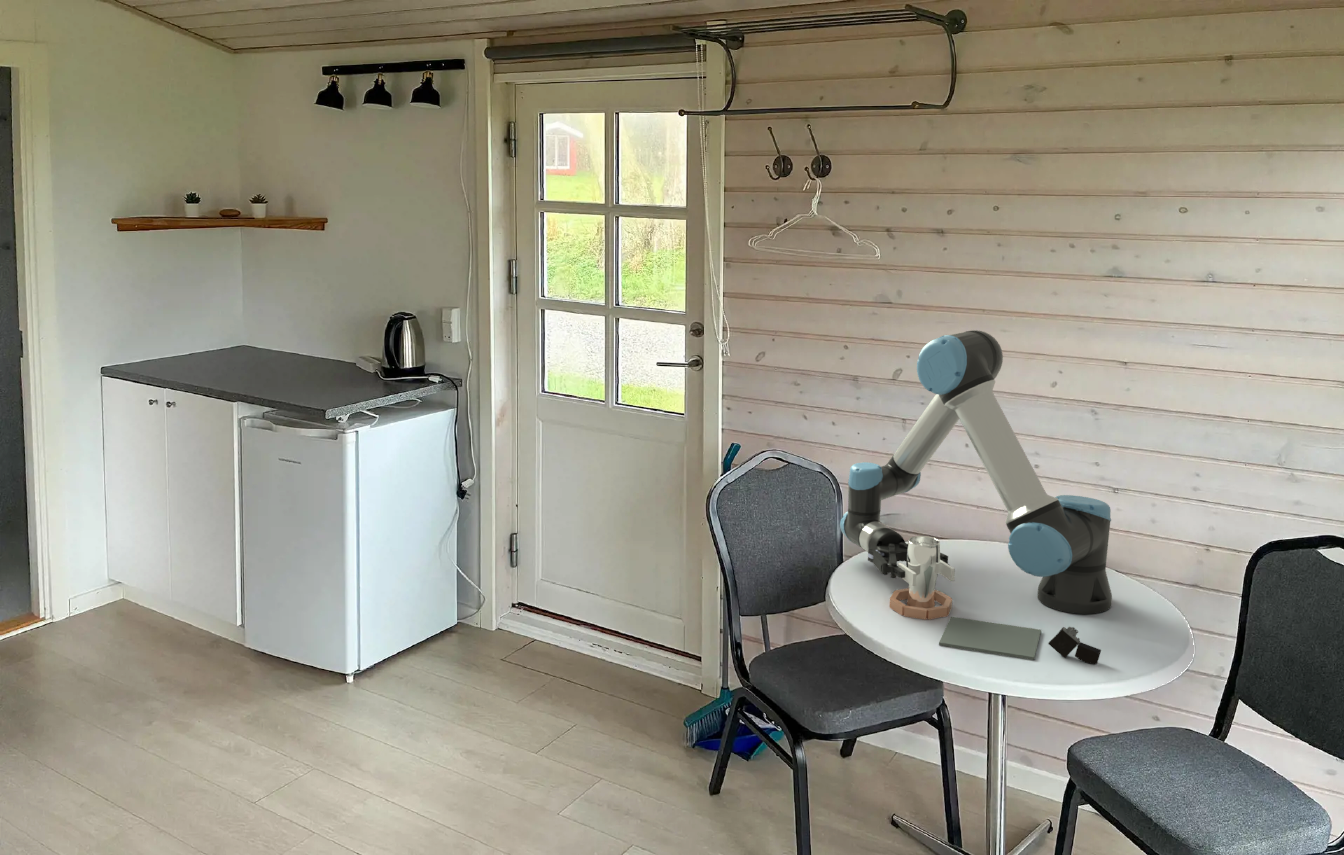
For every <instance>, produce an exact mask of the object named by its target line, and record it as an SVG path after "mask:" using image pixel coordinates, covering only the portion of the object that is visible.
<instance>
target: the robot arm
mask: <svg viewBox="0 0 1344 855" xmlns="http://www.w3.org/2000/svg"><path fill="white" fill-rule="evenodd" d="M916 361H917V362H916V372H917V377H918V380H919V382H920V384H921V385H922V387H923V388H925V390H927V391H928V392H930V393H933V394H935V395H934V396H933V398H932V399H931V401H930V402H929V404H928V405H927V406H926V408H925V409H924V411H923V412H922V413H921V415H920V416H919V418H918V419H917V421H916V422H915V423H914V425H913V426H912V427H911V429H910V430H909V431H908V434H906V436H905V438H904V439H903V440H902V442H901V443H900V445H899V446H898V447H897V449H896V451H895V452H894V454H893V455H892V456H891V457H890V459H889V460H888V462H886V464H884V465H882V466H881V465H879V464H877V463H874V462H868V461H867V462H864V461H863V462H856V463H854V464H852V465H851V466H850V467H849V474H848V475H849V477H848V482H847V483H848V493H847V494H848V496H847V497H848V498H847V502H848V504H847V505H848V506H847V511H846V512H845V513H844V514H843V516H842V518H841V519H840V522H839V523H840V524H839V527H840V531H841V533H842V535H844V536H845V537H846V539H848V541H849V542H851V543H852V544H855V545H856V546H858V547H860V548H861V549H863V551H865V552H867V561H869V562H871V563H872V564H873V565H874V566H875V568H876V569H877V570H878V571H879V572H880V574H881V575H884V576H887V575H888V574H889V573H890V578H891V579H897V577H898V578H900V579H902V580H904V581H905V582H906V583H907V584H908V583H909V584H910V585H912V586H916V573H915V572H913V571H912V570H911V569H909V568H908V567H906V564H903V562H906V556H907V547H908V543H907V542H906V541H905V539H904V537H903V536H902V535H901V534H900V533H899V532H897V531H896V530H894V529H893V528H891V527H889V526H888V525H887V524H884V523H883V522H881V512H882V511H881V508H882V507H881V506H882V501H883V500H886V499H888V498H889V499H890V498H892V497H895V496H897V495H900V494H905V493H907V492H909V491H911V490H913V489H915V488H916V487H917V486H918V485H919V483H920V481H921V476H922V473H921V472H922V470H923V469H924V468H925V467H926V465H927V463H928V462H929V461H930V460H931V458H932V457H933V455H934V454H935V453H936V452H937V450H938V449H939V448H940V447H941V444H942V443H943V442H944V440H945V439H946V438H947V437H948V436H949V434H950V433H951V432H952V430H953V429H954V427H955V425H957V423H958V422H959V421H960V423H961V424H962V425H961V426H963V429H964V431H965V433H966V434H967V436H968V438H969V440H970V443H971V444H972V446H973V448H974V450H975V452H976V453H977V455H978V457H979V459H980V461H981V463H982V464H983V467H984V469H985V470H986V472H987V475H988V477H989V478H990V480H991V482H992V484H993V485H994V487H995V490H996V492H997V494H998V495H999V498H1000V499H1001V501H1002V503H1003V505H1004V507H1005V509H1006V511H1007V515H1006V519H1005V525H1006V528H1007V529H1008V531H1009V533H1010V535H1009V537H1008V543H1007V548H1008V552H1009V555H1010V558H1011V559H1012V561H1013V562H1014V564H1015V565H1016V566H1017V567H1018V568H1019V569H1020V570H1021V571H1023V572H1024V573H1026V574H1029V575H1031V576H1033V577H1040V578H1041V579H1040V581H1039V583H1038V584H1039V585H1038V588H1037V596H1036V597H1037V599H1038V601H1039V602H1041V604H1043V605H1044V606H1046V607H1048V608H1051V609H1054V610H1056V611H1059V612H1064V613H1069V614H1076V615H1077V614H1079V615H1093V614H1100V613H1104V612H1106V611H1108V610H1109V609H1111V607H1112V602H1113V601H1112V600H1113V594H1112V590H1111V587H1110V586H1111V585H1110V582H1109V579H1108V575H1107V570H1106V568H1107V559H1108V549H1109V539H1110V538H1109V537H1110V529H1111V522H1112V519H1111V513H1112V512H1111V507H1110V505H1109V504H1108V503H1107V502H1105V501H1103V500H1099V499H1096V498H1092V497H1087V496H1083V495H1082V496H1081V495H1074V494H1073V495H1072V494H1062V495H1056V496H1051V495H1049V494H1048V493H1047V492H1046V490H1045V488H1044V486H1043V484H1042V482H1041V480H1040V478H1039V476H1038V475H1037V473H1036V472H1035V469H1034V467H1033V465H1032V463H1031V462H1030V460H1029V458H1028V456H1027V455H1026V452H1025V451H1024V449H1023V447H1022V444H1021V442H1020V441H1019V439H1018V438H1017V435H1016V434H1015V432H1014V430H1013V428H1012V426H1011V424H1010V422H1009V421H1008V419H1007V417H1006V415H1005V413H1004V411H1003V409H1002V407H1001V405H1000V403H999V402H998V400H997V397H996V396H995V394H994V388H995V384H996V380H995V379H996V378H997V376H998V375H999V372H1000V371H1001V369H1002V366H1003V361H1004V355H1003V350H1002V347H1001V344H1000V343H999V341H997V339H996V338H995V337H994V336H993V335H991V334H990V333H987V332H985V331H982V330H977V329H976V330H974V329H973V330H972V329H971V330H968V331H967V330H966V331H964V332H959V333H954V334H945V335H944V334H943V335H941V336H939V337H937V338H934V339H932V340H931V341H929V342H927V343H926V344H925V345H924V346H923V347H922V348H921V350H920V352H919V355H918V359H917V360H916ZM898 562H901V563H898ZM955 574H956V568H955V567H953V566H951V564H949V555H947V554H944V553H942V552H940V566H939V572H938V575H941V576H942V577H944V578H946V579H947V580H948V581H950V582H955ZM909 584H908V585H909Z"/></svg>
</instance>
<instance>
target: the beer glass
mask: <svg viewBox="0 0 1344 855" xmlns="http://www.w3.org/2000/svg"><path fill="white" fill-rule="evenodd" d="M940 543H941V541H940V540H939V539H938V538H935V537H934V536H928V535H927V536H926V535H915V536H911V537H909V538H908V541H907V544H908V547H907V556H906V561H905V562H906V564H905V566H906V567H908V568H909V569H911V570H912V571H913V572H915V573H916V586H912V585H910V584H909V583H907V584H908V588H909V594H908V599H906V604H905V605H907V606H913V607H920V608H932V607H936V604H935V603H936V601H934V590H936V589H935V588H936V583H937V579H938V576H939V573H938V572H939V566H940V553H941V544H940Z"/></svg>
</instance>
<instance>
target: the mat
mask: <svg viewBox="0 0 1344 855" xmlns="http://www.w3.org/2000/svg"><path fill="white" fill-rule="evenodd" d="M1041 634H1042V629H1038V628H1032V627H1024V626H1018V625H1012V624H1011V625H1010V624H1005V623H999V622H998V623H996V622H991V621H984V620H978V619H977V620H976V619H972V618H971V619H970V618H964V617H963V618H962V617H957V616H950V618H949V620H948V622H947V625H946V626H945V628H944V631H943V633H942V635H941V637H940V639H939V642H938V646H940V647H942V646H943V647H946V648H947V647H948V648H952V649H953V648H954V649H961V650H966V651H967V650H968V651H972V652H973V651H974V652H980V653H985V654H986V653H987V654H993V655H999V656H1004V657H1012V658H1018V659H1025V660H1031V661H1035V657H1036V653H1037V649H1038V645H1039V642H1040V637H1041Z"/></svg>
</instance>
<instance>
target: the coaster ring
mask: <svg viewBox="0 0 1344 855" xmlns="http://www.w3.org/2000/svg"><path fill="white" fill-rule="evenodd" d="M908 594H909V587H907V588H902V589H896V590H894V591H893V592H892V594H891V596H890V598H889V609H891V610H892V611H894V612H896V613H897V614H899V615H900V616H902V617H905V618H911V619H918V620H924V621H925V620H935V619H939V618H940V619H941V618H944V617H948V616H949V615H950V613H951V610H952V608H953V598H952V597H950V596H949V595H948V594H946V593H943V592H942V591H941V590H937V589H934V601H935V603H938V604H940V605H937V606H935V607H932V608H920V607H913V606H907V605H906V604H905V603H904V602H902V601H907V599H908Z"/></svg>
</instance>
